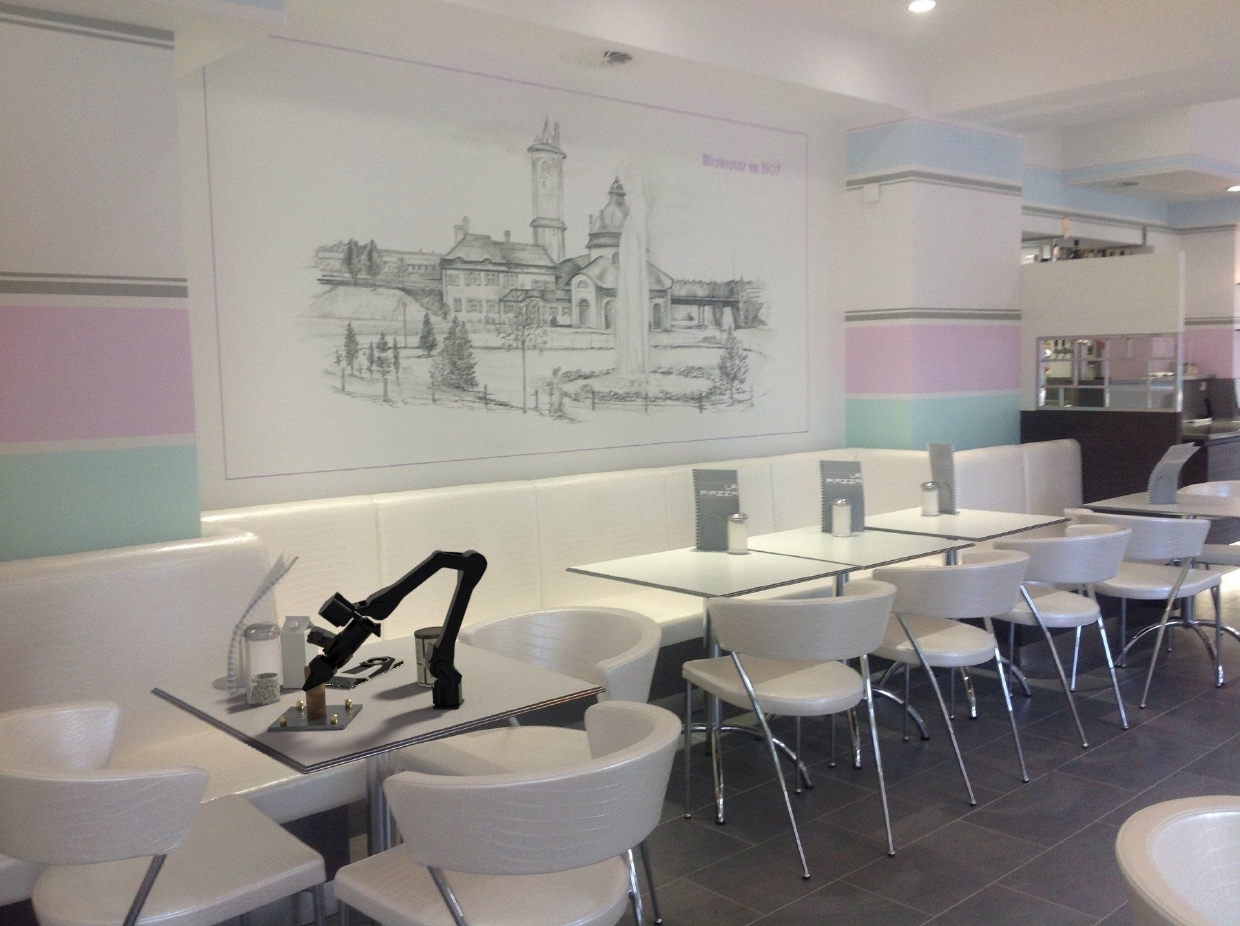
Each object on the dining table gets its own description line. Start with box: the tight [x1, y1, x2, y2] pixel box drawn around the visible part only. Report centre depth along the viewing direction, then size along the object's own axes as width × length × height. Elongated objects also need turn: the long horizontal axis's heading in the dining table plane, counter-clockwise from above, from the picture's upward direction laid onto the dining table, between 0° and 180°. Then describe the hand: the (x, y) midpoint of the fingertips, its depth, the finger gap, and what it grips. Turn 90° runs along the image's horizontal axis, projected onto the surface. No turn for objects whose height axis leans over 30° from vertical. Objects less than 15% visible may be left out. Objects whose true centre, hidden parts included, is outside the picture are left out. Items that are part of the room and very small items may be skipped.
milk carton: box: [279, 615, 319, 689], centre depth 286 cm, size 7×7×19 cm
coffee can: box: [413, 625, 455, 687], centre depth 284 cm, size 10×10×14 cm
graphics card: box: [325, 654, 405, 688], centre depth 294 cm, size 10×3×25 cm
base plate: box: [267, 698, 363, 733], centre depth 255 cm, size 18×16×3 cm
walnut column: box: [304, 665, 327, 718], centre depth 255 cm, size 4×4×12 cm
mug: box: [246, 672, 281, 706], centre depth 271 cm, size 10×7×7 cm, turn 158°
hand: (308, 684), depth 255 cm, fingers open, 9 cm apart
